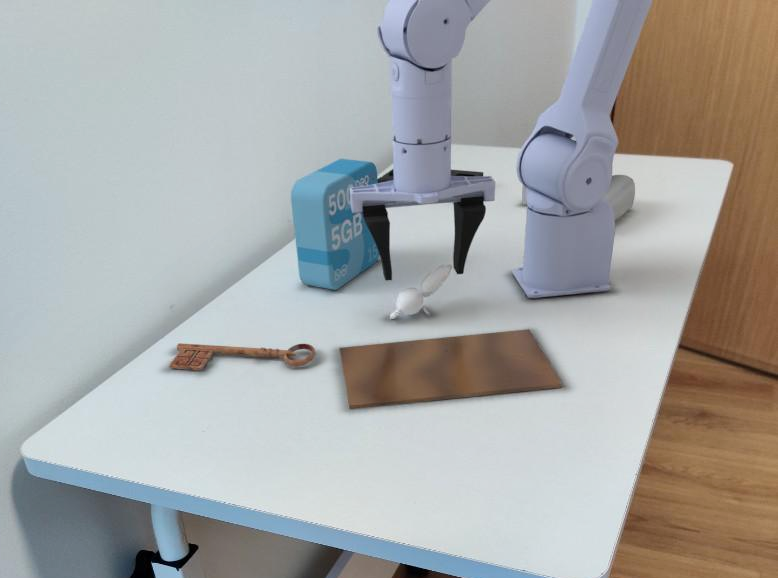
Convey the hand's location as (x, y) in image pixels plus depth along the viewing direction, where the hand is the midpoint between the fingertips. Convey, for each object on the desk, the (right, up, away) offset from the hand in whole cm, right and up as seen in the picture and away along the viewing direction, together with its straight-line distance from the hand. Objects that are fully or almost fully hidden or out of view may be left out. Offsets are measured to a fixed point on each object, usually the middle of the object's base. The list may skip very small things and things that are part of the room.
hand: (423, 274), depth 90 cm
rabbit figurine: (0, -4, +3) cm, 5 cm away
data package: (-9, +4, +13) cm, 17 cm away
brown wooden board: (+2, -12, -7) cm, 14 cm away
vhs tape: (+3, +25, +37) cm, 45 cm away
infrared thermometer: (+21, +16, +25) cm, 36 cm away
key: (-19, -10, -4) cm, 22 cm away
